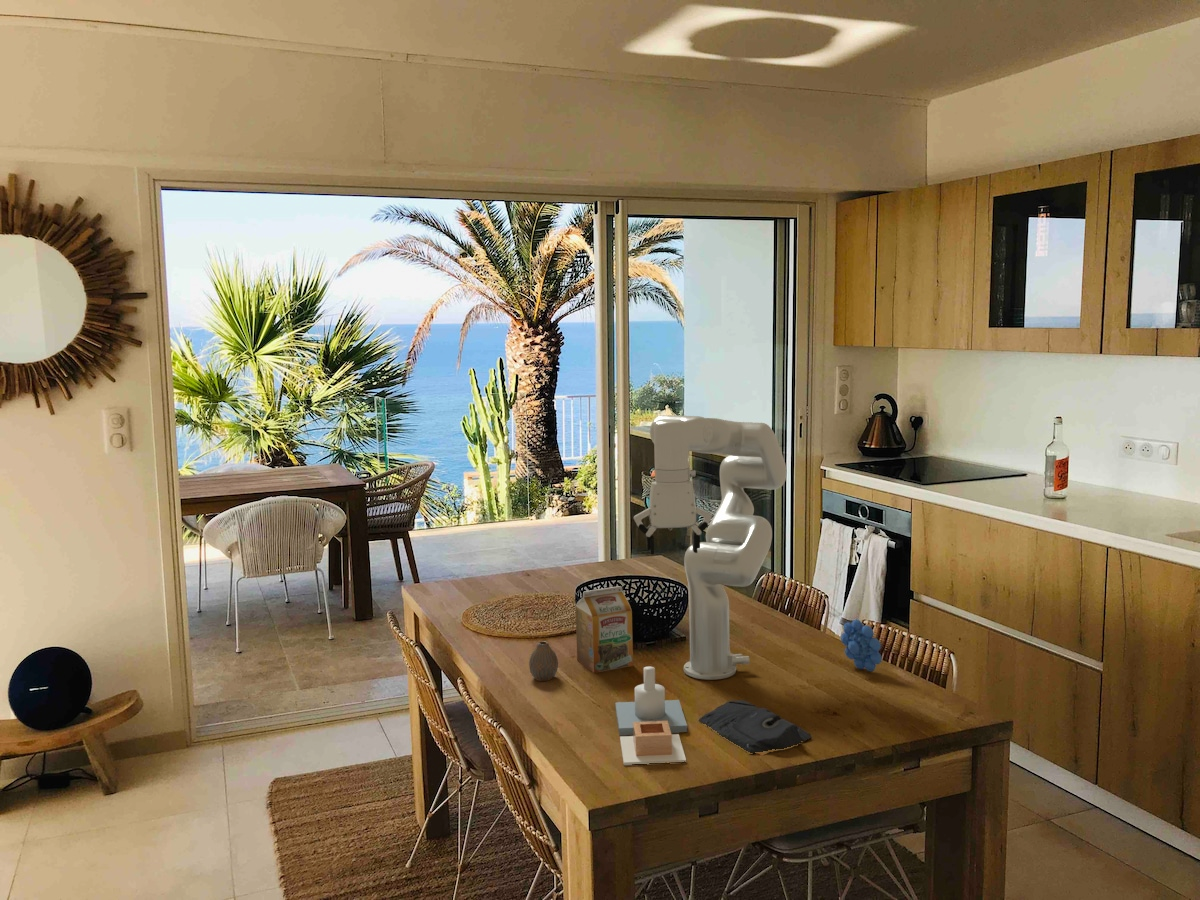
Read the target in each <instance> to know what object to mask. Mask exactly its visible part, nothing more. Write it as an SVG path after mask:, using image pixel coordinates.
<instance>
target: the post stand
mask: <svg viewBox="0 0 1200 900" xmlns="http://www.w3.org/2000/svg"><path fill="white" fill-rule="evenodd" d="M665 692H666V689H665V687H664V685H661V684H659V683H656V669H655V667H654V666H645V667H643V683H641V684H637V685H636V686H635V687H634V701H619V702H618V701H617V702H615V705H614V706H615V714H616V722H617V728H618V735H619V736H633V722H646V721H668V724H669V727H670V731H671V734H680V733H679V732H687V733H688V724H687V721H686V718H685V714H684V711H683V708H682V705H681V702H680V700H679V699H669V700H668V699H666V693H665Z"/></svg>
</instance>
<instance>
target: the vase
mask: <svg viewBox="0 0 1200 900" xmlns="http://www.w3.org/2000/svg"><path fill="white" fill-rule="evenodd" d="M528 666H529V672H530V673H531V675H532V677H533V678H534V679H536V680H537V681H541V682H547V681H551V680H552V679H554V677H555V676H556V675H557V672H558V670H559V669H558V668H559V661H558V655H557V653H556V652H555V651H554V650H553V648H552V647H551V646H550V645H549V642H548V641H543V640H542V641H539V642H537V645H536V646H535V648H534V650H532V652H531V654H530V657H529V661H528Z"/></svg>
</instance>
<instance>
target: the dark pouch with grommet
mask: <svg viewBox="0 0 1200 900" xmlns="http://www.w3.org/2000/svg"><path fill="white" fill-rule="evenodd" d="M699 721H700V722H702V723H703V724H706V725H707V726H709V727H711V728H712V729H713V730H715V731H717V733H719V735H721V736H722V737H725V738H726V739H728V740H729V741H731V742H733V743H734V744H736V745H738V746H740V747H741V748H743V749H744V750H746V751H748V752H750V753H755V752H763V751H768V750H772V749H775V750H776V749H784V748H787V747H791V746H793V745H797V744H799V743H802V742H801V741H807V740H806V739H808V740H811V739H812V735H811V733H810V732H807V731H806V730H805V729H803V728H801V727H799V726H798V725H797V724H796V723H792V722H790V721H788V720H787V719H786V718H782V717H781V716H780V715H779V714H776V713H774V712H772V711H771V710H770V709H768V708H765V707H757V706H756V705H755V704H753V703H751V702H749V701H746V700H742V699H741V700H729V701H726V702H725V703H723V704H721V705H719V706H718V707H716V708H715V709H713V710H711V711H709V712H707V713H705V714H703V716H701V717H700V718H699V719H698V722H699ZM700 722H699V723H700ZM702 723H701V724H702ZM719 735H718V736H719ZM721 736H720V737H721ZM722 737H721V738H722ZM810 738H811V739H810ZM726 739H725V740H726ZM729 741H728V742H729ZM734 744H733V745H734ZM802 744H803V743H802ZM799 745H800V744H799Z"/></svg>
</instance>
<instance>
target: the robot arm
mask: <svg viewBox="0 0 1200 900" xmlns="http://www.w3.org/2000/svg"><path fill="white" fill-rule="evenodd" d="M649 436H650V439H651V441H652V443H653V445H654V449H653V450H654V480H653V481H652V482H651V483H650V490H649V504H648V505H649V506H648V508H646V509H644V510H643V511H641V512H639V513H637V514H635V515H634V516H633V520H634V522H635V523H636V526H637V527H638V529H639V530H640V531H641V532H642V534H644V535H645V537H646V551H649V553H650V555H652V556H653V555H654V554H655V540H654V539H655V538H654V535H653V534H654V532H656V530H657V529H676V528H678V529H679V528H691V530H692V531H693V532H692V533H691V537H692V539H691V541H692V542H691V543H692V544H691V545H690V546H689V547H688V548H686V551H685V554H684V558H683V562H684V572H685V576H686V579H687V588H688V612H689V616H688V617H689V661H687V662H686V663H685V664H684V665H683V673H684V674H686V675H687V676H689V677H692V678H694V679H697V680H698V679H699V680H707V681H711V680H712V681H713V680H723V679H727V678H730V677H732V676H734V675H735V674H736V672H737V665H750V656H749V655H743V654H742V653H735V654H734V653H732V652H731V649H730V601H729V596H728V594H727V591H726V590H725V588H724V586H732V587H740V588H741V587H742V588H743V587H748V586H750V585H751V584H753V582H754V581H755V579H756V578H757V576H758V573H759V571H760V569H761V568H762V566H763V564H764V562H765V559H766V557H767V555H768V553H769V550H770V548H771V545H772V540H773V529H772V525H771V523H770V522H769V521H768V519H767V518H765V517H763V516H760V515H754V512H755V508H754V504H753V502H752V500H751V498H750V497H749V495H748V494H747V493H746V492H745V490H744V489H758V490H772V491H773V490H777V489H780V488H781V487H783V486H784V484H785V482H786V479H787V474H788V472H787V466H786V462H785V459H784V456H783V452H782V450H781V446H780V444H779V442H778V441H779V440H778V439H777V437H776V434H775V432H774V430H773V429H772V428H771V426H769V424H767V423H764V422H752V421H751V422H749V421H746V422H745V421H733V420H727V419H722V418H721V419H720V418H718V417H717V418H716V417H703V416H698V415H677V414H676V415H675V414H673V415H670V414H669V415H667V414H663V415H662V414H661V415H659V416H657V417H656V418H654V419H653V420H652V423H651V425H650V428H649ZM690 452H693V453H698V454H699V453H700V454H710V455H711V454H712V455H721V456H726V457H725V458H724V459H722V461H721V463H720V465H719V485H720V494H721V502H720V505H719V506H718V508H717V510H716V511H715V514H714V515H712V513H711V512H709V511H706V510H705V509H702V508H700V507H699V506H696V496H695V490H694V489H695V488H694V485H693V481H692V480H690V479H691V478H692V477H696V474H697V473H696V472H697V471H696V470H695V469H691V468H690V455H689V454H690ZM697 515H700V516H702V518H703V520H702V522H700V524H698V525H697V523H696V522H697ZM646 517H648V518H649V523H650V524H649V525H648V526H646V525H644V523H643V522H642V520H643V519H645V518H646ZM705 530H706V532H705V541H701V535H702V533H703V532H704V531H705Z"/></svg>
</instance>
